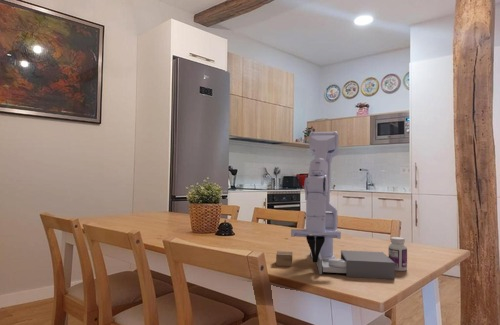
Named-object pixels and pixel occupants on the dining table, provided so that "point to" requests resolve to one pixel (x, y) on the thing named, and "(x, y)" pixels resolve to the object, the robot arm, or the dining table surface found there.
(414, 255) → the dining table surface
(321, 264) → the grey shallow open box
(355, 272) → the block
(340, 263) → the disc
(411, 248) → the dining table surface
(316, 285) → the dining table surface
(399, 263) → the pill bottle
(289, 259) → the pedestal
